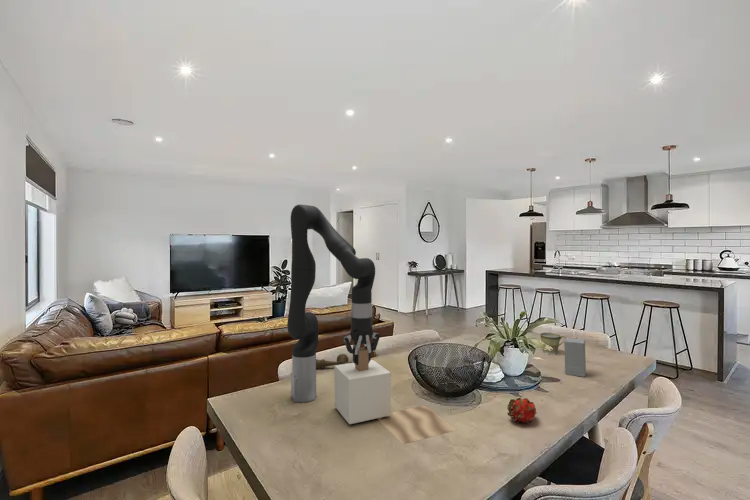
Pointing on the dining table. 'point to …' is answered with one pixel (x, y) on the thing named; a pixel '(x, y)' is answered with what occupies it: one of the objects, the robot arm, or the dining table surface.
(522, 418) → the dragon fruit
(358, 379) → the white cube with peg
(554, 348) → the ceramic cup
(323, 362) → the kendama
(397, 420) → the mat
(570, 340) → the skincare box
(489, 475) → the dining table surface
